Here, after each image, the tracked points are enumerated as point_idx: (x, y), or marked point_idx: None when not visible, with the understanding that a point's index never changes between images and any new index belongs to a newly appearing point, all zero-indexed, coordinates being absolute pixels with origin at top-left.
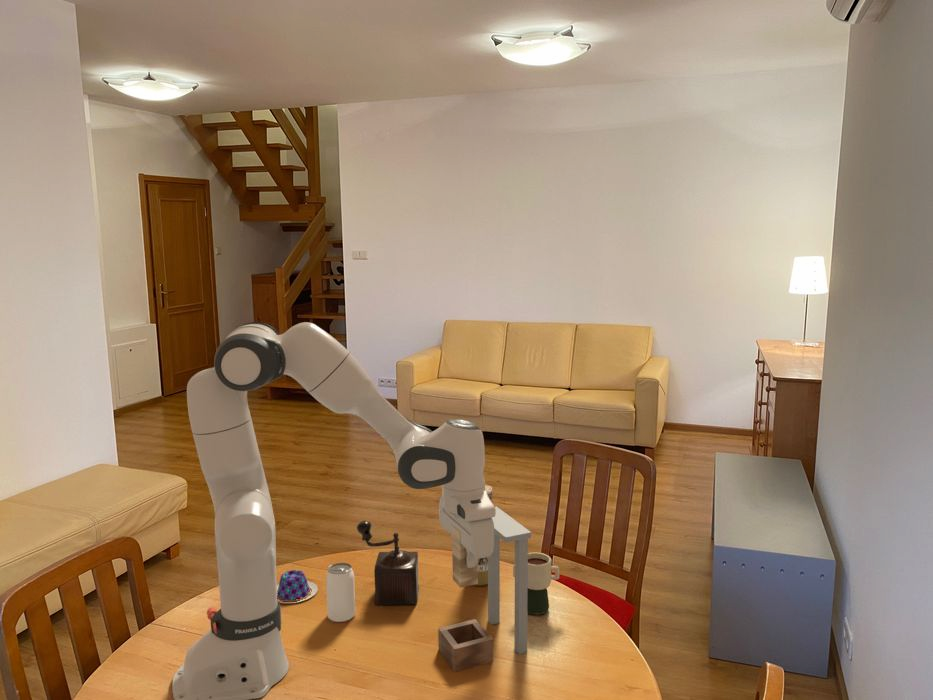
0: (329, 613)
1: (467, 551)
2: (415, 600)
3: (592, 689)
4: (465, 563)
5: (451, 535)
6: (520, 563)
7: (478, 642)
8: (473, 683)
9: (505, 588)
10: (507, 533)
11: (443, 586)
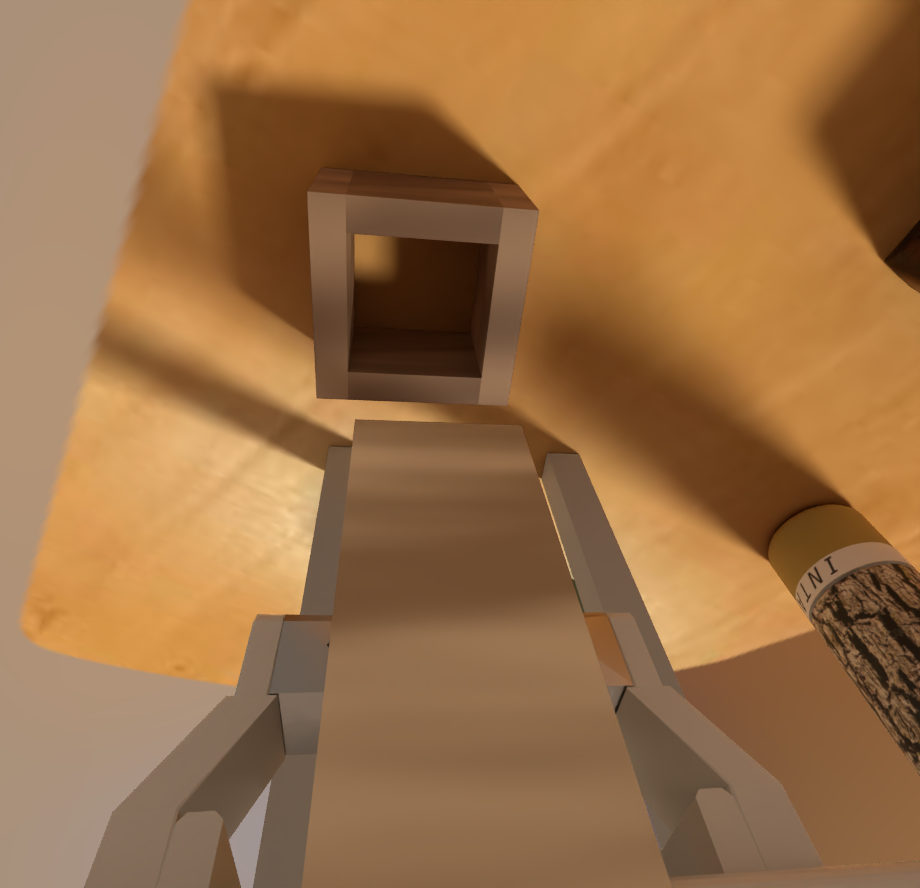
0: None
1: (161, 844)
2: (903, 266)
3: (59, 537)
4: (317, 631)
5: (797, 826)
6: (261, 847)
7: (318, 331)
8: (208, 204)
9: (704, 577)
10: None
11: (892, 421)
